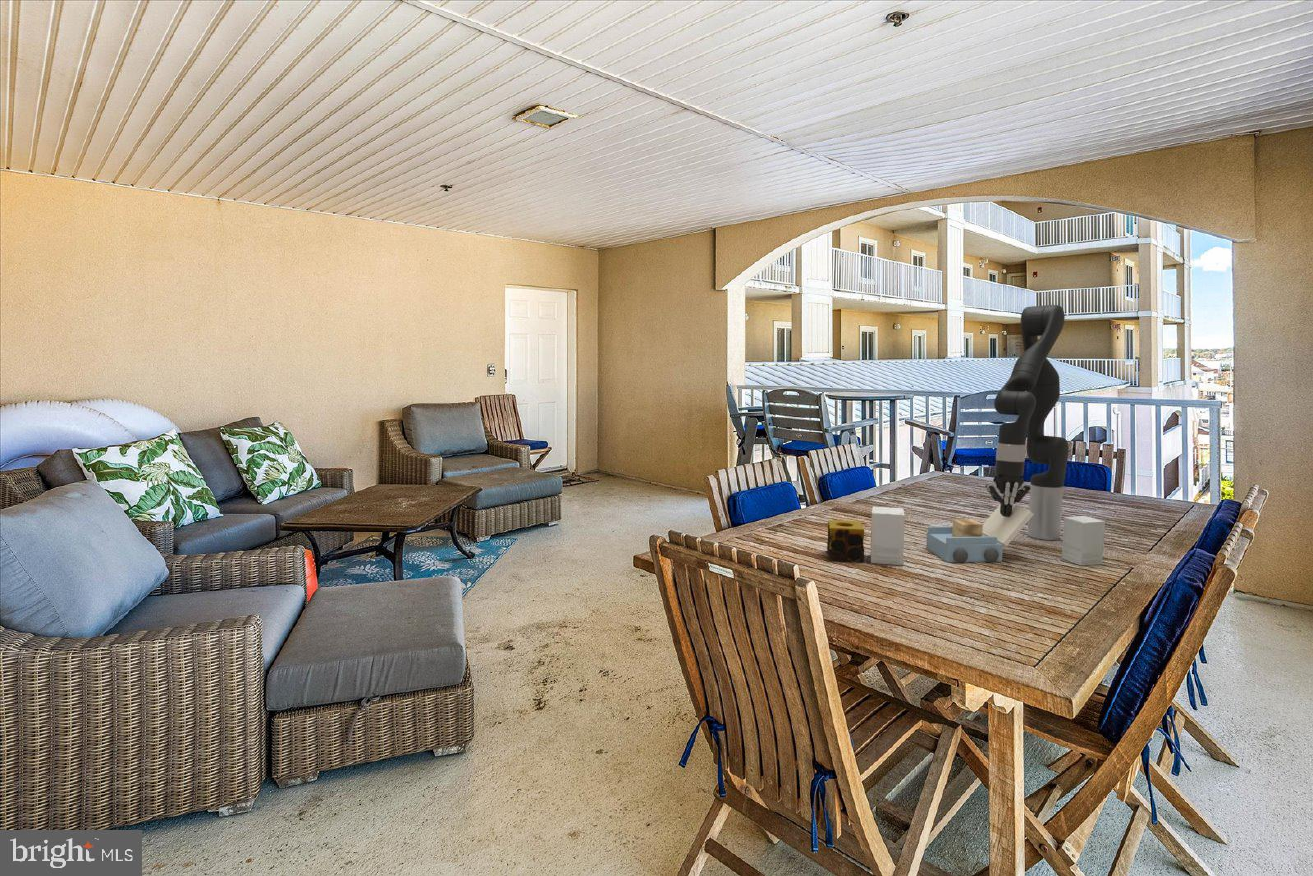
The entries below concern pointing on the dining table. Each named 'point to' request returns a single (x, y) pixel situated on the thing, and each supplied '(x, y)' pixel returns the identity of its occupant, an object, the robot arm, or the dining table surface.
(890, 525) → the supplement box
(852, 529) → the yellow spotted cube
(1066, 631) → the dining table surface
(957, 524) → the wooden block
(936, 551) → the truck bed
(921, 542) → the dining table surface
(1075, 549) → the supplement box
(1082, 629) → the dining table surface
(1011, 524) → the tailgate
